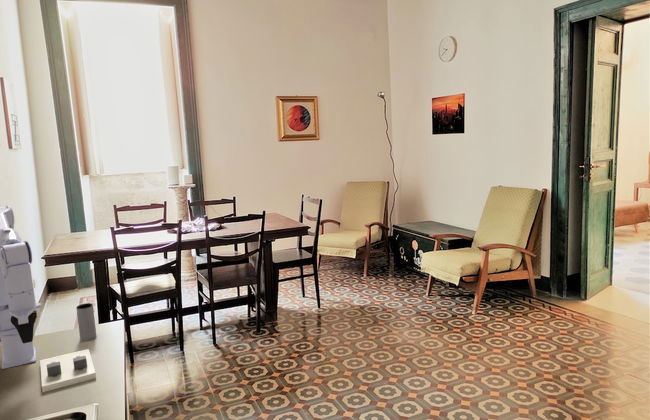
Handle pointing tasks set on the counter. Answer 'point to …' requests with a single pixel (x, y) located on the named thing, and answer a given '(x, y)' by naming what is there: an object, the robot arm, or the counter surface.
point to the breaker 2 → (80, 362)
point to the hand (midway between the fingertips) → (27, 341)
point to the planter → (86, 321)
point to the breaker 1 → (53, 369)
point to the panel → (66, 371)
